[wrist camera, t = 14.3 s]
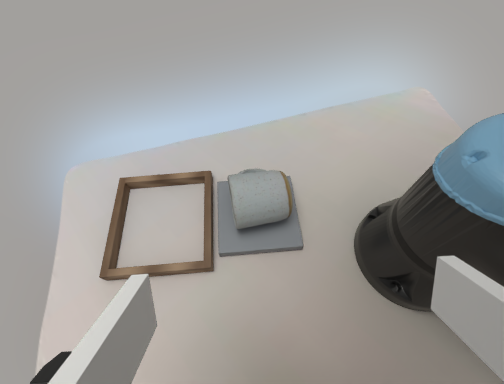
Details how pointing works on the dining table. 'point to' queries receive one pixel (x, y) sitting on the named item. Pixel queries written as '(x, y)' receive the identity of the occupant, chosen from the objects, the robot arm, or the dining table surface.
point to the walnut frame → (118, 220)
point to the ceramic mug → (259, 197)
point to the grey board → (255, 230)
